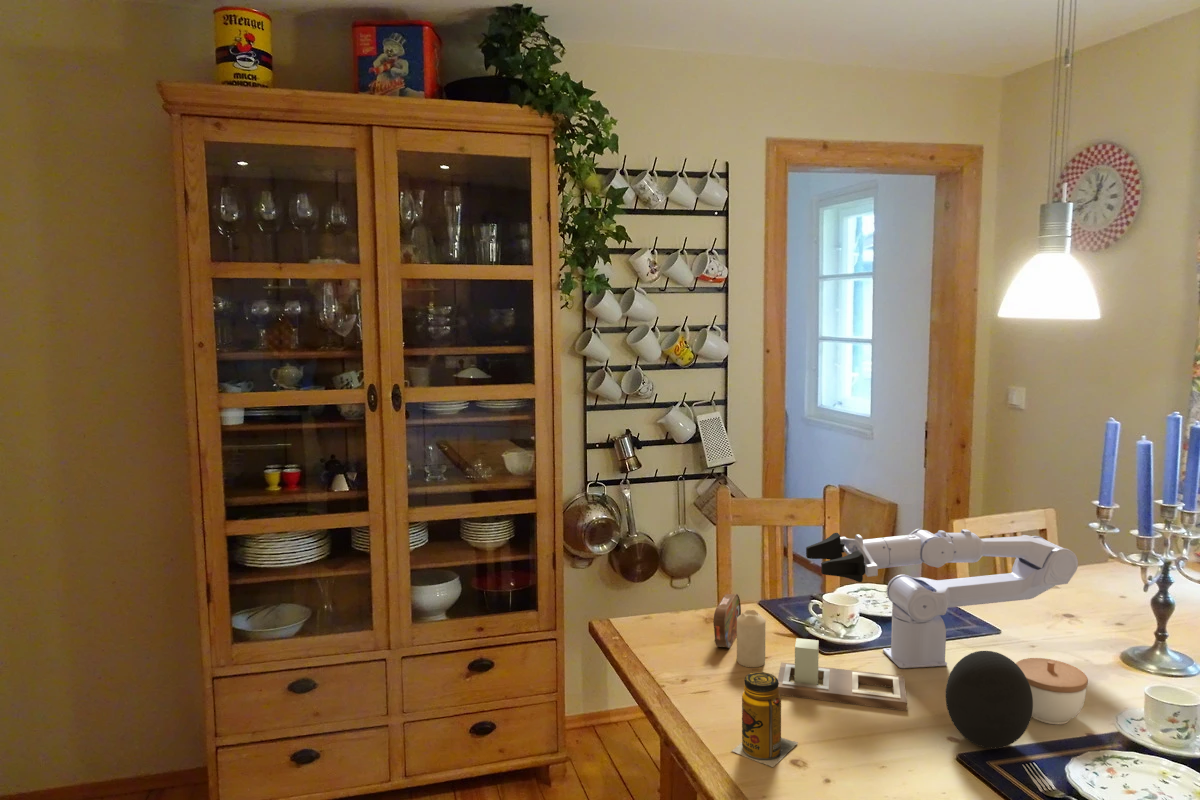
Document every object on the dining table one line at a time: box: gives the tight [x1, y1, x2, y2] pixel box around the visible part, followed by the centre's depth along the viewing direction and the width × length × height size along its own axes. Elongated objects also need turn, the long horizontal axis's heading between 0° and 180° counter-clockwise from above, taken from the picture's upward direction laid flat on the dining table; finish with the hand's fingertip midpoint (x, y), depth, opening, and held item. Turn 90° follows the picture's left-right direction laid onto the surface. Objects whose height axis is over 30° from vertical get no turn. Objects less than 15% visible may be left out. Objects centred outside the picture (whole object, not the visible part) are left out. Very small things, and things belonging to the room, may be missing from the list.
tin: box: [712, 593, 742, 649], centre depth 168 cm, size 15×3×8 cm, turn 158°
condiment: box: [730, 671, 799, 768], centre depth 127 cm, size 7×8×12 cm
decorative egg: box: [945, 650, 1033, 749], centre depth 127 cm, size 12×12×15 cm
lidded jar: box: [1015, 657, 1089, 726], centre depth 135 cm, size 11×11×9 cm
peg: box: [794, 637, 820, 685], centre depth 148 cm, size 4×4×8 cm
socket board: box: [777, 661, 908, 712], centre depth 146 cm, size 22×10×2 cm, turn 73°
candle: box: [736, 609, 767, 668], centre depth 157 cm, size 6×6×10 cm
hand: (814, 560), depth 153 cm, fingers open, 7 cm apart
